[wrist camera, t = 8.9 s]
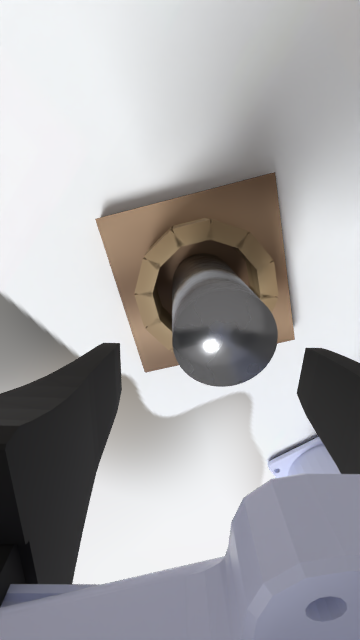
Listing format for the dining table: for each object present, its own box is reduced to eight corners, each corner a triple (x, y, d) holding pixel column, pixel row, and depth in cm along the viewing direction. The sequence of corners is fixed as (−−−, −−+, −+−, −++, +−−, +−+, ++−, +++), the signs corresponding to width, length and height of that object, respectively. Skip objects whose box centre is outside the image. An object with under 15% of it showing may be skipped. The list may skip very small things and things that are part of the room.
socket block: (288, 332, 22) (311, 357, 19) (146, 364, 23) (140, 394, 19) (269, 174, 19) (292, 166, 15) (99, 218, 19) (82, 220, 16)
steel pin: (243, 292, 20) (295, 353, 12) (193, 323, 21) (207, 402, 12) (212, 240, 19) (245, 268, 10) (160, 275, 20) (151, 327, 11)
